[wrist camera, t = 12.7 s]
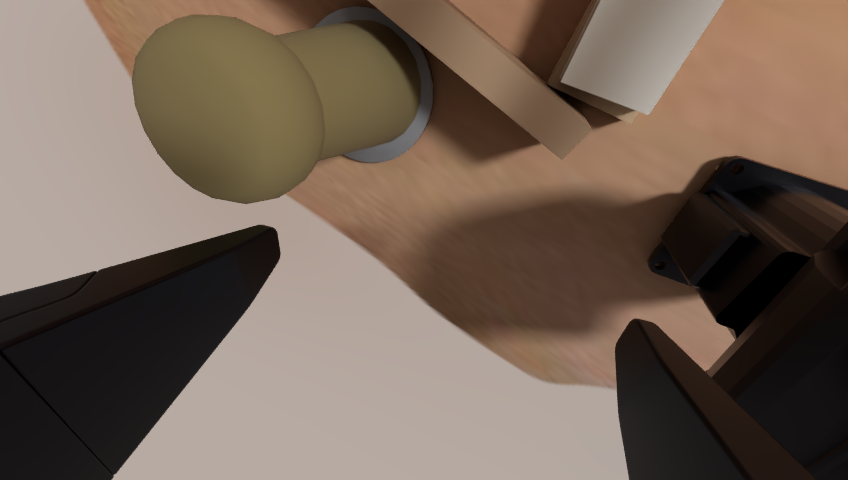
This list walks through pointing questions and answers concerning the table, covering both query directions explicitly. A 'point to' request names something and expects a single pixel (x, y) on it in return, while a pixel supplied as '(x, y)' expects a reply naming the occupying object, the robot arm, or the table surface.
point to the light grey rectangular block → (630, 52)
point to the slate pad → (427, 92)
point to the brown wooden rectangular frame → (490, 70)
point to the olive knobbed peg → (269, 100)
